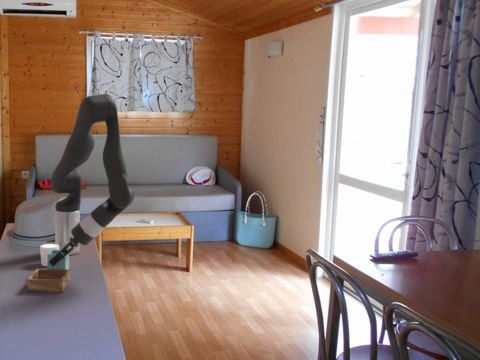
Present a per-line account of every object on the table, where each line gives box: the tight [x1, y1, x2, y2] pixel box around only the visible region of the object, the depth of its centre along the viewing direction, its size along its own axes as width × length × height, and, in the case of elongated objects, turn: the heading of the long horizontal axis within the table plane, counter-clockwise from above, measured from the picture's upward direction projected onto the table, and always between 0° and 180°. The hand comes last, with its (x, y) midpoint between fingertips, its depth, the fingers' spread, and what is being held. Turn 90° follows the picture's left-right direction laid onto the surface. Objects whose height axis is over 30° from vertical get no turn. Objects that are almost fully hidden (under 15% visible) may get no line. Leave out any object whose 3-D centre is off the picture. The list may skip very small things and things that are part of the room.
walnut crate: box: [26, 268, 71, 294], centre depth 190 cm, size 12×11×4 cm
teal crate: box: [47, 250, 70, 270], centre depth 202 cm, size 6×6×8 cm
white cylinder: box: [39, 243, 59, 267], centre depth 213 cm, size 7×7×7 cm
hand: (53, 261), depth 201 cm, fingers closed on teal crate, 6 cm apart
